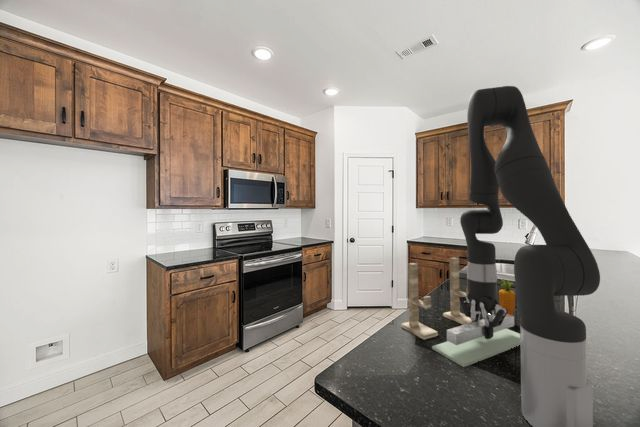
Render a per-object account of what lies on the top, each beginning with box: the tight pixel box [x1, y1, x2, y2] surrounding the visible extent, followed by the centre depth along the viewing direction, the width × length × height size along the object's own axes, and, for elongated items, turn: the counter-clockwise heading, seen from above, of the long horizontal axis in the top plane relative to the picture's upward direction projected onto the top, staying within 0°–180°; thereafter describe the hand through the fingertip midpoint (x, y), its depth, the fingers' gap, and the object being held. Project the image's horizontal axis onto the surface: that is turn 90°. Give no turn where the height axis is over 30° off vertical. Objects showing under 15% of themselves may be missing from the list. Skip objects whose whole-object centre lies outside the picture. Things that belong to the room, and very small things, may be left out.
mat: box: [431, 328, 520, 368], centre depth 78 cm, size 10×30×1 cm, turn 114°
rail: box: [446, 314, 515, 345], centre depth 78 cm, size 3×26×3 cm, turn 115°
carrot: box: [498, 278, 516, 316], centre depth 92 cm, size 5×5×15 cm
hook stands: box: [400, 257, 472, 341], centre depth 91 cm, size 10×26×22 cm, turn 114°
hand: (482, 335), depth 78 cm, fingers closed on rail, 3 cm apart
